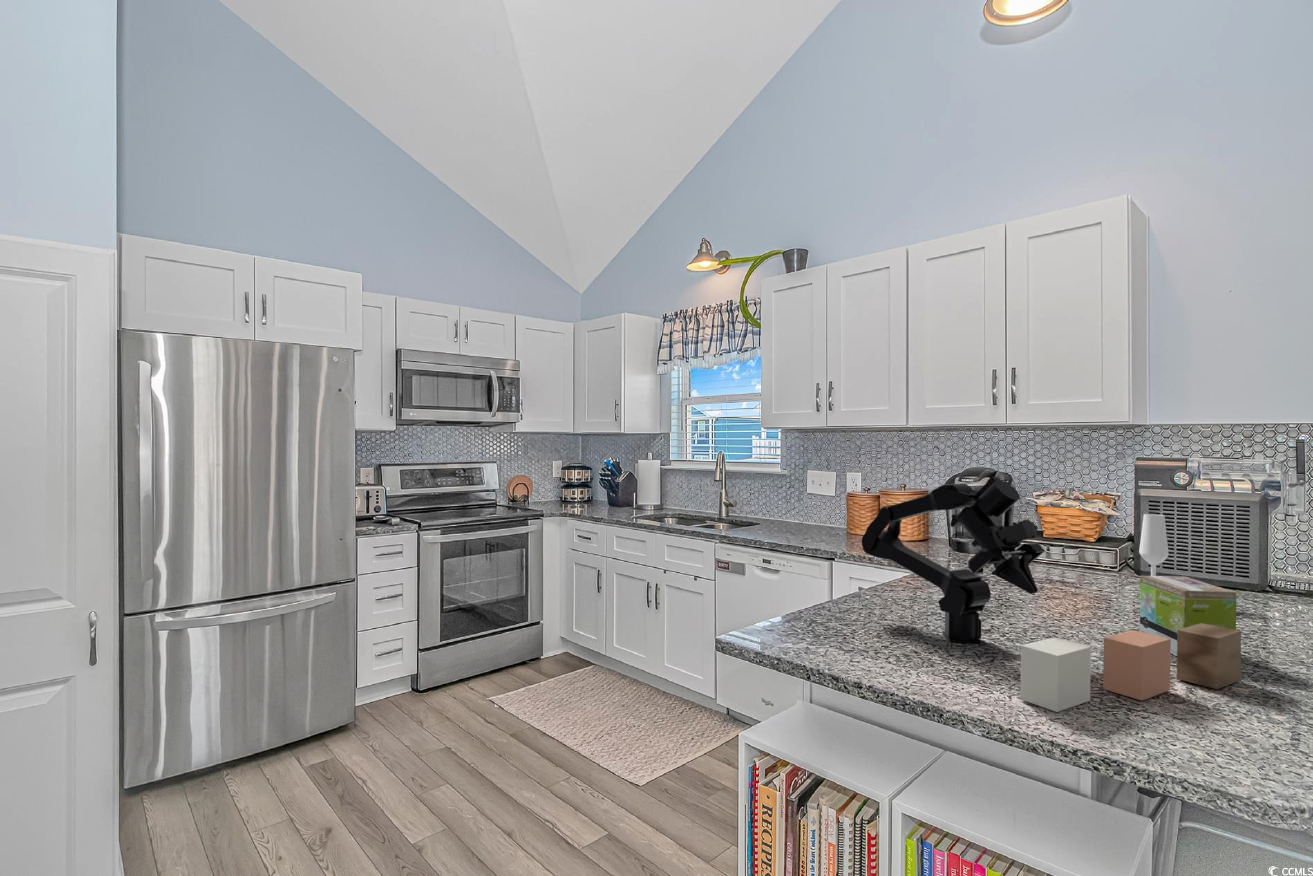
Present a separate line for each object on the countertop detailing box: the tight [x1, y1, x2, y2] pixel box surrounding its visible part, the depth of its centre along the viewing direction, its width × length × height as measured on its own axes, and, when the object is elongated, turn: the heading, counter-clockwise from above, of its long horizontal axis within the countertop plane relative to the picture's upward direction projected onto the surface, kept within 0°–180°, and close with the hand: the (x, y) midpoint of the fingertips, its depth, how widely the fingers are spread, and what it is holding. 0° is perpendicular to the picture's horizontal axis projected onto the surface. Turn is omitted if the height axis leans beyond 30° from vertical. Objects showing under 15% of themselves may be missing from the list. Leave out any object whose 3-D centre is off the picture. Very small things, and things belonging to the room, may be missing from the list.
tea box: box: [1139, 575, 1237, 657], centre depth 139 cm, size 15×10×15 cm, turn 174°
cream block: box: [1019, 637, 1092, 713], centre depth 110 cm, size 6×10×9 cm, turn 120°
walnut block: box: [1176, 623, 1242, 690], centre depth 121 cm, size 6×10×9 cm, turn 120°
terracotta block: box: [1102, 629, 1171, 701], centre depth 115 cm, size 6×10×9 cm, turn 120°
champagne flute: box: [1138, 513, 1170, 576], centre depth 187 cm, size 7×7×24 cm
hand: (1034, 592), depth 131 cm, fingers closed
